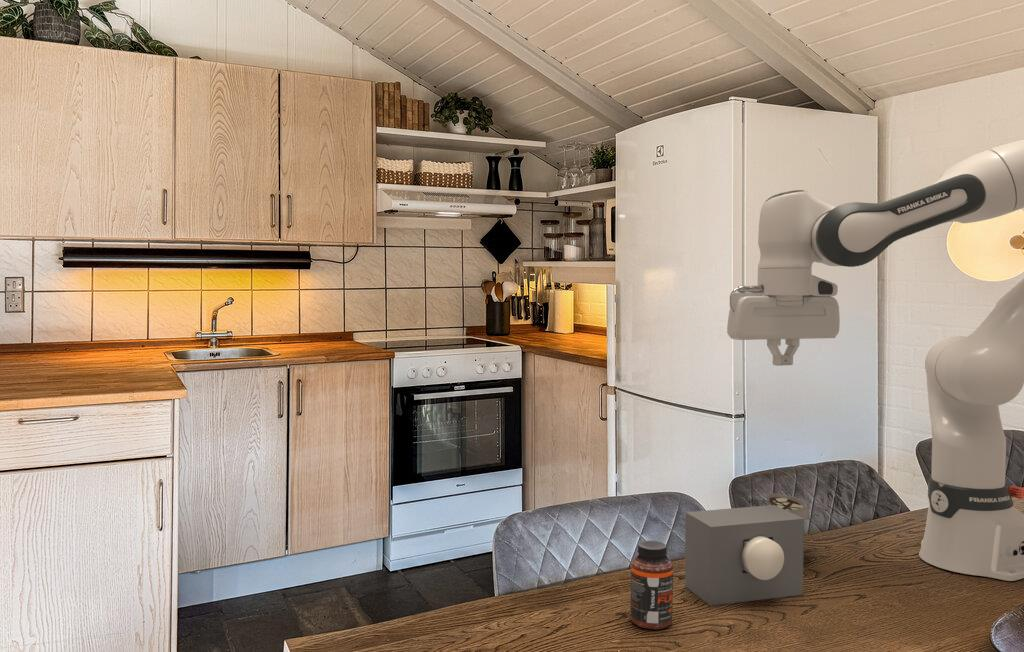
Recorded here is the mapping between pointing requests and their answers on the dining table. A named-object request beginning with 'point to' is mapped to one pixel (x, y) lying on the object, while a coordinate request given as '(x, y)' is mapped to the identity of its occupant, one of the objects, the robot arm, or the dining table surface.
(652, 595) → the supplement bottle
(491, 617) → the dining table surface
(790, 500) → the food container
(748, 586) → the knob mount
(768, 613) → the dining table surface
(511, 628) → the dining table surface
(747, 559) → the push knob
